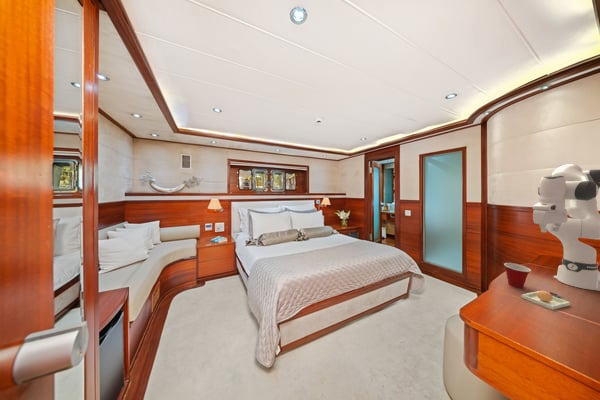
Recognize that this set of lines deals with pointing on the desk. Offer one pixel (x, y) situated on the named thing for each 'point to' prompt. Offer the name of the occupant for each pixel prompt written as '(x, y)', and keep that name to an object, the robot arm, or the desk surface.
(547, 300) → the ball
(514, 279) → the plastic cup
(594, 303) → the desk surface
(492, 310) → the desk surface
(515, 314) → the desk surface
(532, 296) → the tray
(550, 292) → the coaster
